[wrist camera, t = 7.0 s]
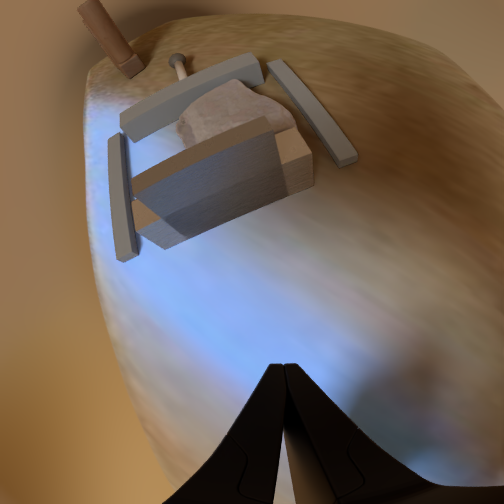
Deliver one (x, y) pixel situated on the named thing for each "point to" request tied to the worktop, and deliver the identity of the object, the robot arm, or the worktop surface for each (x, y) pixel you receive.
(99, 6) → the wooden block
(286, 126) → the stone block
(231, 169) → the bar
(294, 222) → the worktop surface
